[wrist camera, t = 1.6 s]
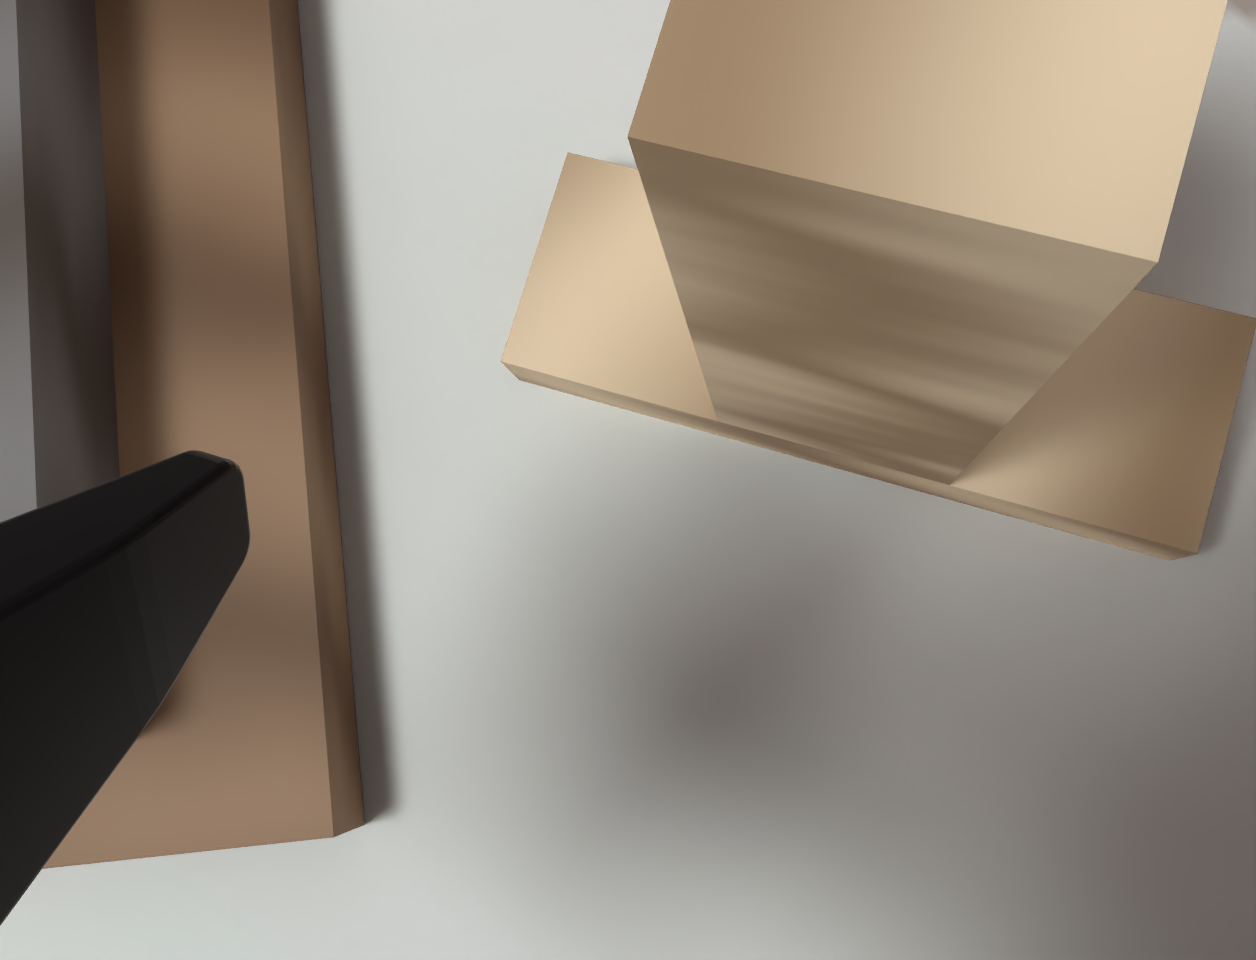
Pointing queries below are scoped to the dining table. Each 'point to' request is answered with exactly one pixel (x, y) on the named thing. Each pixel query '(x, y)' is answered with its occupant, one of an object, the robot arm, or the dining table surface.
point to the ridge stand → (183, 383)
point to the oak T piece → (908, 254)
